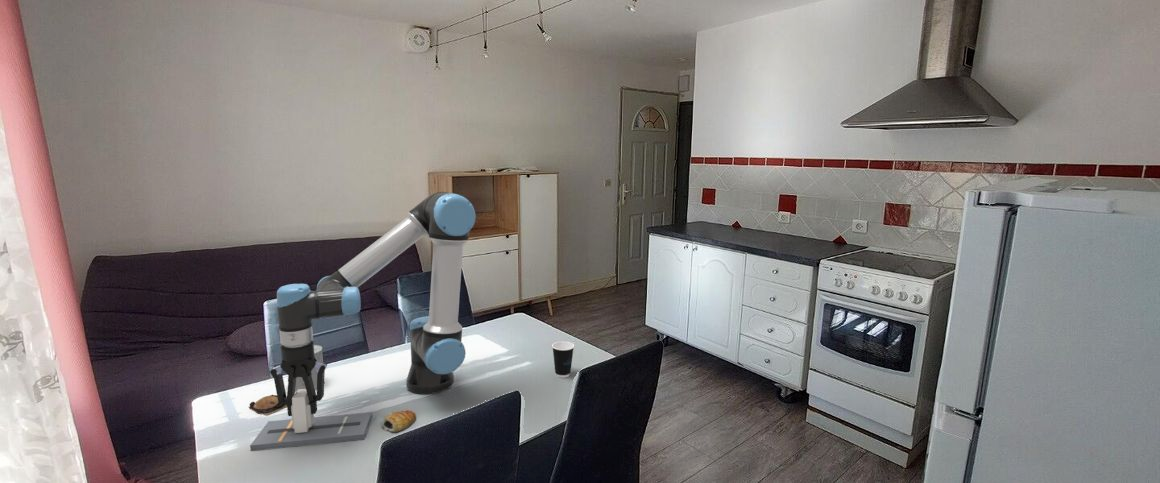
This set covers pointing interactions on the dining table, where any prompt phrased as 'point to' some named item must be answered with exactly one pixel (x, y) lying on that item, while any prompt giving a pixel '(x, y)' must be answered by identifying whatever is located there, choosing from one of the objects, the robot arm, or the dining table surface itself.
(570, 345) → the dixie cup
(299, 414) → the fader tab
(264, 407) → the wood slice
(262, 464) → the dining table surface
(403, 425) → the pastry
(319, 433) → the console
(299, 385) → the grey concrete cylinder
